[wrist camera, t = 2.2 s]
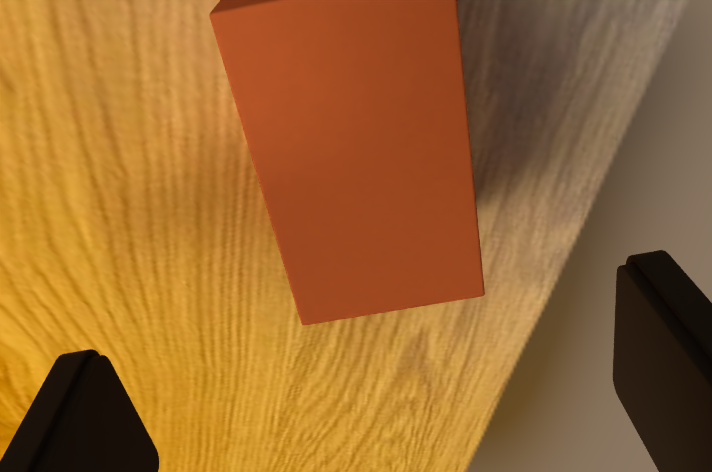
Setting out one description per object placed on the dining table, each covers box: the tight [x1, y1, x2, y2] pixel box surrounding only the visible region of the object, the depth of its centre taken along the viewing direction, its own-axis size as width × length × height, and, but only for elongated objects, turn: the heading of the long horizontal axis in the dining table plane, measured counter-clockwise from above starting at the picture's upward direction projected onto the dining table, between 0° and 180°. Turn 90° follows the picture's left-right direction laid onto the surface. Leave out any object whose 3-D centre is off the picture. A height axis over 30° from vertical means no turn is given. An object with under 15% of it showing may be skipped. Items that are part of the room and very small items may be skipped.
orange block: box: [210, 0, 485, 325], centre depth 19 cm, size 6×10×5 cm, turn 11°
